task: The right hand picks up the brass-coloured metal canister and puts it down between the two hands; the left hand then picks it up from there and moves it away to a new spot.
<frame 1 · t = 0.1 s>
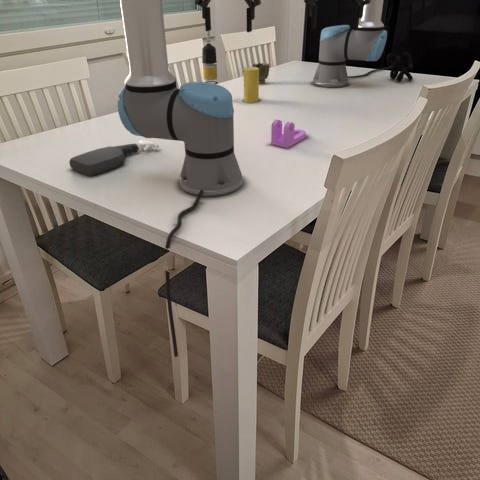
left hand: (228, 31, 138), 28 cm above the table, tool pointing down, fingers open, 13 cm apart
right hand: (334, 29, 140), 28 cm above the table, tool pointing down, fingers open, 13 cm apart
canister: (251, 100, 176), on the table
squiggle: (399, 80, 200), on the table
cup: (261, 83, 200), on the table
spray bottle: (117, 159, 125), on the table
bracket: (290, 140, 136), on the table
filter: (211, 98, 179), on the table
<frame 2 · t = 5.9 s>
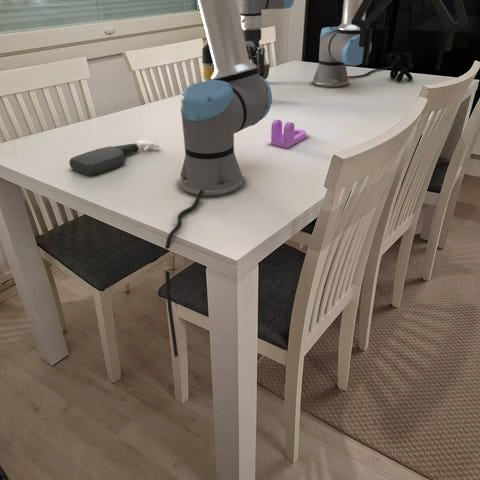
left hand: (400, 67, 86), 29 cm above the table, tool pointing down, fingers open, 13 cm apart
right hand: (251, 93, 174), 3 cm above the table, tool pointing down, fingers closed on canister, 6 cm apart
canister: (251, 100, 176), on the table, touching right hand
everything else where it was.
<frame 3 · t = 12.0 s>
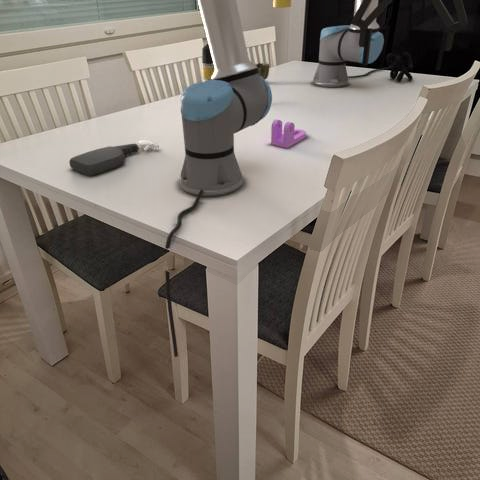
left hand: (400, 67, 86), 29 cm above the table, tool pointing down, fingers open, 13 cm apart
canister: (281, 6, 142), point 34 cm above the table, touching right hand
everything else where it was.
when the right hand's fingers open (4 cm above the table, at t = 18.3 s): canister drops 2 cm, on the table.
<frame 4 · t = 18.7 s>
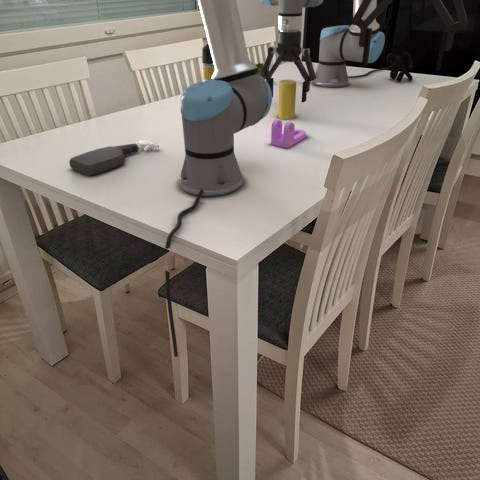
left hand: (400, 67, 86), 29 cm above the table, tool pointing down, fingers open, 13 cm apart
right hand: (287, 99, 153), 6 cm above the table, tool pointing down, fingers open, 11 cm apart
canister: (286, 116, 157), on the table
everything else where it was.
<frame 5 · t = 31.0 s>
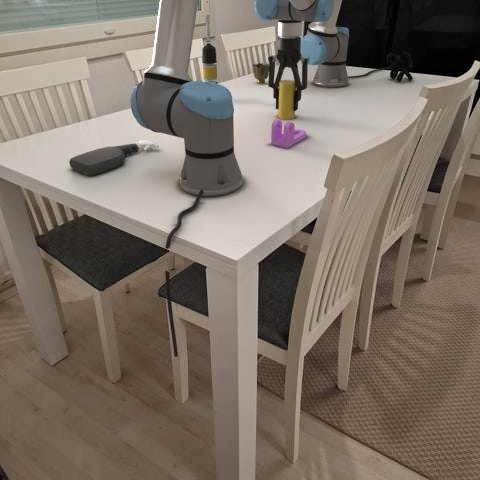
left hand: (286, 109, 155), 3 cm above the table, tool pointing down, fingers closed on canister, 6 cm apart
canister: (286, 116, 157), on the table, touching left hand
everything else where it was.
when the left hand's fingers open (4 cm above the table, at t = 38.2 s): canister drops 2 cm, on the table.
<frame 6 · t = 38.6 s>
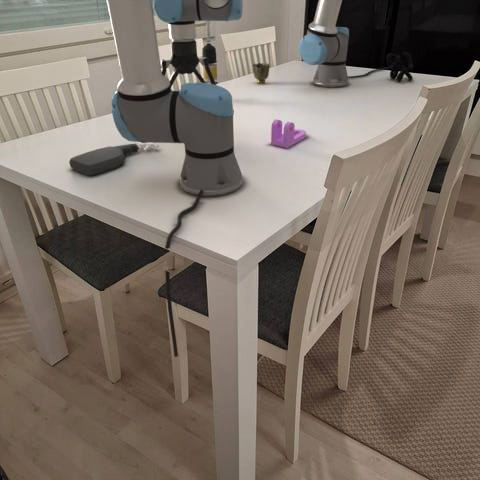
left hand: (189, 115, 140), 6 cm above the table, tool pointing down, fingers open, 11 cm apart
canister: (190, 133, 143), on the table
everything else where it was.
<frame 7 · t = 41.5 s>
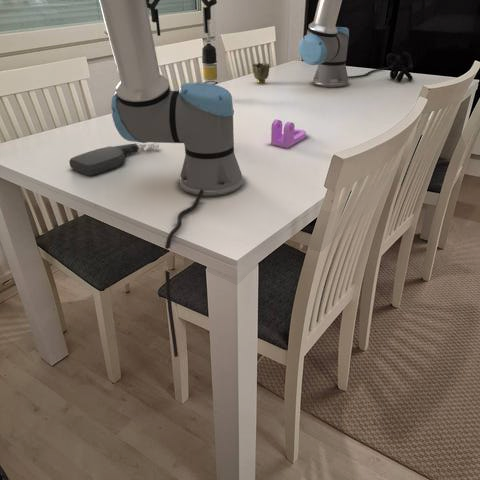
left hand: (182, 34, 128), 29 cm above the table, tool pointing down, fingers open, 13 cm apart
nothing on the table moved.
at the end: canister inside the target area (0.1 cm from its centre), on the table; canister tilted 0°; the two hands never held the canister at the same time; the left hand is holding nothing; the right hand is holding nothing; canister at rest at the end (0.0 cm/s) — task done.
